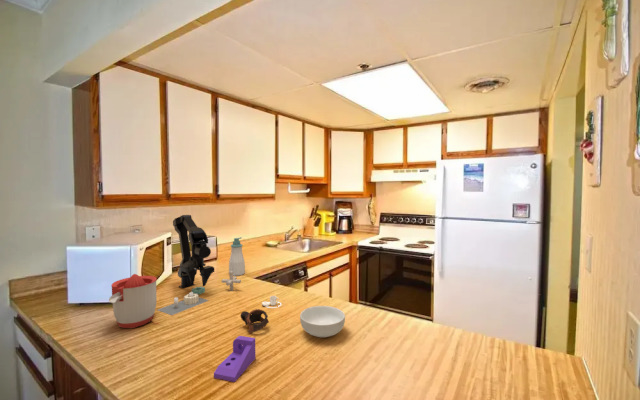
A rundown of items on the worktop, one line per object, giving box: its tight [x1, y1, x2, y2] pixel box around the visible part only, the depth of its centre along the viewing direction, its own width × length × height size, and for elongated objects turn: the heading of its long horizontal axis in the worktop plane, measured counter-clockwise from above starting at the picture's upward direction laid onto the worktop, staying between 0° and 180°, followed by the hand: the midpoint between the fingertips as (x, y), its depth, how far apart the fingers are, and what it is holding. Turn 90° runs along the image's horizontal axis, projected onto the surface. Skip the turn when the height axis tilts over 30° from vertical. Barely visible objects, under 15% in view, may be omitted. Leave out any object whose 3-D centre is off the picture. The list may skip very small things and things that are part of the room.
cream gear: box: [183, 293, 200, 305], centre depth 137 cm, size 6×6×3 cm
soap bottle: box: [228, 236, 246, 277], centre depth 186 cm, size 10×10×23 cm
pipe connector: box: [221, 271, 242, 292], centre depth 157 cm, size 10×10×10 cm
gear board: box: [157, 291, 210, 316], centre depth 134 cm, size 11×19×6 cm, turn 150°
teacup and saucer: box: [261, 295, 283, 309], centre depth 137 cm, size 9×8×4 cm
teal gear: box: [191, 286, 206, 295], centre depth 151 cm, size 6×6×3 cm
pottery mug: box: [239, 308, 269, 335], centre depth 114 cm, size 12×10×8 cm
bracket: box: [213, 335, 256, 383], centre depth 89 cm, size 12×7×7 cm, turn 164°
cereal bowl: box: [299, 305, 346, 338], centre depth 111 cm, size 17×17×7 cm
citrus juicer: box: [108, 273, 157, 329], centre depth 118 cm, size 16×17×20 cm
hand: (198, 284), depth 151 cm, fingers open, 9 cm apart
